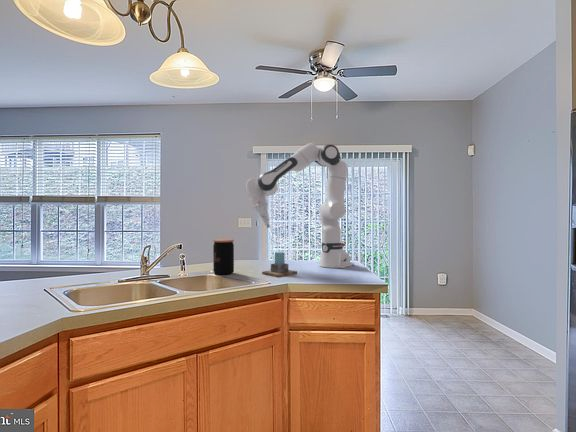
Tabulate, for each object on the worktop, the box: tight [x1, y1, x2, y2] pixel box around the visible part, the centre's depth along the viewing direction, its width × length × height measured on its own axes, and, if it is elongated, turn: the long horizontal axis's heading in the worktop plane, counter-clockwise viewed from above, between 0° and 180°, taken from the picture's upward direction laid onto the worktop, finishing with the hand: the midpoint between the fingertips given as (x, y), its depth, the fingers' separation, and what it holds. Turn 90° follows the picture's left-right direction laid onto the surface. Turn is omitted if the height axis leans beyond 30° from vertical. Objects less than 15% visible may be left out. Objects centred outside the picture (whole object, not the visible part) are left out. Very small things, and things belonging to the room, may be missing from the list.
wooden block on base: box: [261, 262, 298, 278], centre depth 176 cm, size 14×12×5 cm
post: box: [274, 251, 286, 265], centre depth 176 cm, size 4×4×10 cm
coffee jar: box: [212, 238, 235, 276], centre depth 177 cm, size 11×11×18 cm
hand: (267, 226), depth 191 cm, fingers open, 8 cm apart
